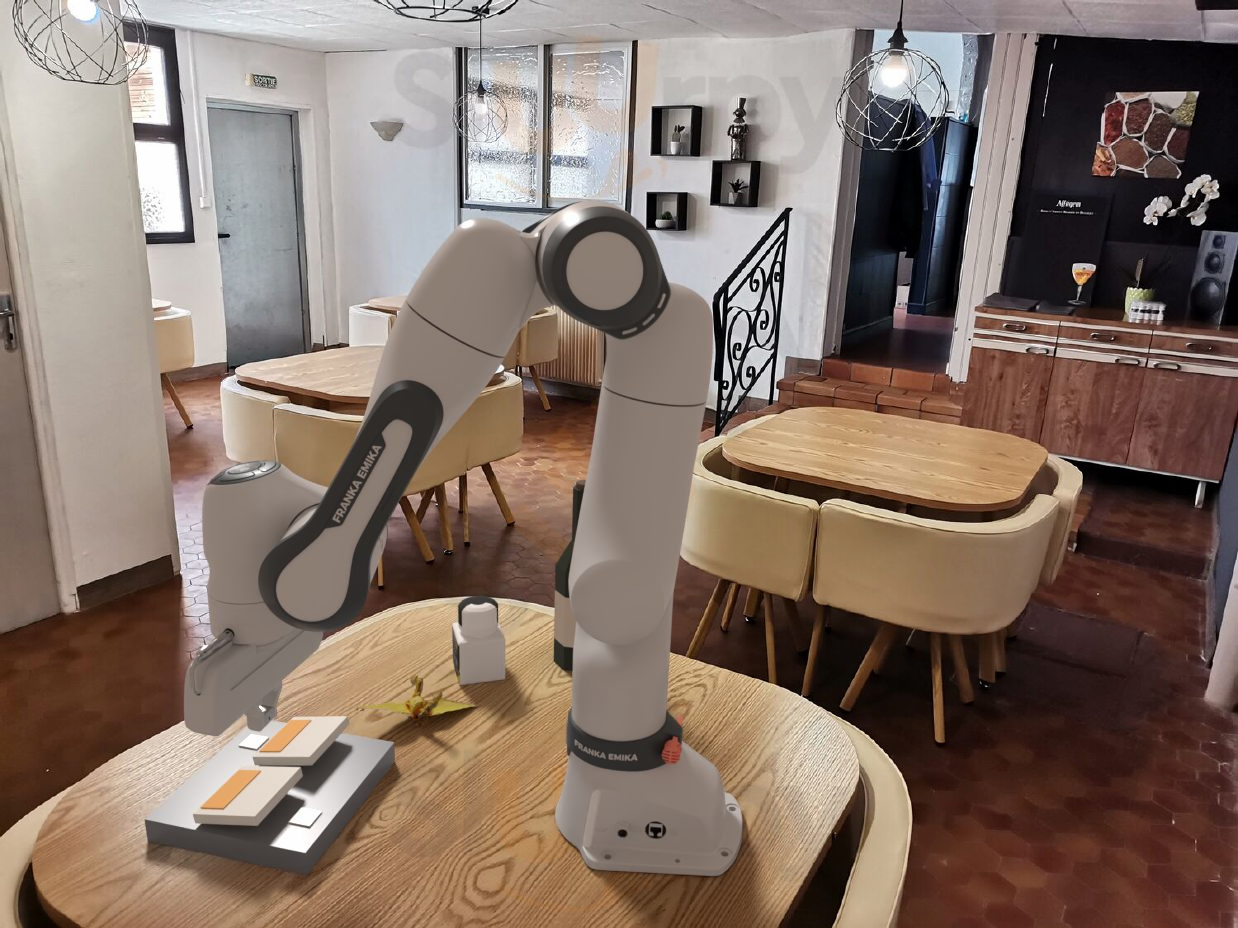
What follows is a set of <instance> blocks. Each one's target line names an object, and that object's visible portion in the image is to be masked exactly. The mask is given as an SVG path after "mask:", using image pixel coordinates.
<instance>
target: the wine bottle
mask: <svg viewBox="0 0 1238 928" xmlns="http://www.w3.org/2000/svg"><path fill="white" fill-rule="evenodd" d="M575 483H576V484H575V485H574V486H573V487H572V513H571V514H572V515H571V516H572V520H571V521H572V523H571V540H570V541H569V543H568V544H567V546H566V547H565V549H564V551H563V552H562V554H561V556H560V557H559V558H558V560H557V561H556V563H555V565H554V567H555V568H554V573H555V574H554V611H553V612H554V617H553V619H554V620H553V621H554V623H553V624H554V625H553V627H554V628H553V662H554V663H555V665H557V666H558V667H559V668H560V669H562V670H563V671H567V672H573V648H574V640H575V630H576V619H575V617H574V615H573V612H572V608H571V603H570V597H569V572H570V566H571V560H572V554H573V548H574V543H575V537H576V532H577V526H578V520H579V515H580V510H581V504H582V499H583V493H584V488H585V483H586V479H578V480H576V482H575Z"/></svg>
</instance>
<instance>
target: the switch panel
mask: <svg viewBox="0 0 1238 928" xmlns="http://www.w3.org/2000/svg"><path fill="white" fill-rule="evenodd" d="M287 723H288V722H282V721H277V720H272V721H271V722H270V723H269V724H268V725H267V726H266V727H265V728H264V729H263V730H262V731H260V732H258V731H253V730H250V729H249V728H248V726H247V725H246V726H245V728H243V729H242V730H241V731H240V732H239V733H238V734H237V735H236V736H235V737H234V738H232V739H231V740H230V741H229V742H228V743H226V744H225V745H224V746H223V747H222V748H221V749H220V750H219V751H218V752H216V754H215V755H214V756H213V757H211V758H210V759H209V760H208V761H206V763H205V764H204V765H202V767H201V768H199V769H198V770H196V771H195V773H194V774H192V775H191V776H190V778H188V779H187V780H186V781H184V783H182V784H181V786H180V787H178V788H177V789H176V790H175V791H174V792H173V793H172V794H171V795H169V796H168V797H167V798H166V799H165V800H163V802H162V803H161V804H159V806H157V807H156V808H155V809H154V810H153V811H152V812H151V813H150V814H149V815H147V816H146V817H145V818H144V826H145V833H146V840H147V841H146V842H148V843H153V844H158V845H163V846H168V847H172V848H176V849H182V850H185V851H190V852H196V853H200V854H205V855H210V856H214V857H217V858H218V857H219V858H223V859H228V860H233V861H238V862H242V863H247V864H251V865H255V866H260V867H264V868H270V869H274V870H279V871H284V872H288V873H293V874H297V875H303V876H308V875H309V874H310V873H311V871H312V870H313V869H314V868H315V866H316V865H317V864H318V862H319V861H320V860H321V859H322V857H323V856H324V855H325V853H326V852H327V851H328V849H329V848H330V847H331V846H332V845H333V843H334V842H335V841H336V839H337V838H338V837H339V835H340V834H341V833H342V831H344V829H345V828H346V827H347V825H348V824H349V822H351V820H352V818H353V817H354V816H355V815H356V813H357V812H358V811H359V810H360V808H361V807H362V805H363V804H364V803H365V802H366V801H367V799H368V798H369V797H370V796H371V794H372V792H373V791H374V790H375V789H376V787H377V786H378V784H379V783H380V782H382V780H383V779H384V777H385V776H386V774H387V773H388V772H389V771H390V769H391V768H392V767H393V765H394V764H395V763H396V755H395V754H396V753H395V742H394V741H390V740H382V739H379V738H378V739H377V738H374V737H366V736H362V735H355V734H350V733H345V732H342V733H341V734H340V735H339V736H338V738H337V739H336V740H335V741H334V742H333V743H332V744H331V745H330V746H329V747H328V748H327V750H326V751H325V752H324V753H323V754H322V755H321V756H320V757H319V758H318V759H317V761H316V762H315V763H314V764H313V765H255V764H254V761H253V756H254V755H255V754H256V753H257V752H258V751H259V750H260V749H261V748H262V747H263V746H264V745H265V744H266V743H267V742H268V741H269V740H270V739H271V738H272V737H273V736H274V735H275V734H276V733H277V732H278V731H279V730H280V729H282V728H283V727H284V726H285V725H286V724H287ZM242 766H269V767H301V771H302V775H303V776H302V778H301V779H300V780H299V781H298V782H297V783H296V784H295V785H294V786H293V787H292V788H291V790H290V791H289V792H288V793H287V794H286V795H285V796H284V797H283V798H282V799H281V801H280V802H279V803H278V804H277V805H276V806H275V807H274V808H273V809H272V810H271V811H270V813H269V814H268V815H267V816H266V817H265V818H264V819H263V820H262V821H261V822H260V824H259V825H258V826H250V825H225V824H201V823H195V821H194V817H193V813H194V812H195V811H196V810H197V809H198V808H199V807H200V806H201V805H202V804H203V803H204V802H205V801H207V800H208V799H209V798H210V797H211V796H212V795H213V794H214V793H215V792H216V791H217V790H218V789H219V788H220V787H221V786H222V785H223V784H224V783H225V782H226V781H227V780H228V779H229V778H230V777H231V776H232V775H233V774H234V773H235V772H237V771H238V770H239V769H240V768H241V767H242Z"/></svg>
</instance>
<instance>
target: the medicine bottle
mask: <svg viewBox="0 0 1238 928" xmlns="http://www.w3.org/2000/svg"><path fill="white" fill-rule="evenodd" d="M457 621H458V622H457ZM457 621H455V622H453V623H452V625H451V629H452V630H451V631H452V632H451V633H452V634H451V635H452V636H451V637H452V641H451V642H452V663H453V667H454V671H455V674H456V675H455V676H456V679H457V683H458V685H459V686H465V685H473V684H481V683H488V682H489V683H490V682H497V681H504V680H505V679H506V637H505V635H504V632H503V629H502V627H501V625H500V622H499V603H498V602H497V600H495V598H492V597H490V596H485V595H471V596H469V597H466V598H464V599H462V600H461V601H460V602H459V603H458V605H457Z"/></svg>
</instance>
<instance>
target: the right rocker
mask: <svg viewBox="0 0 1238 928" xmlns="http://www.w3.org/2000/svg"><path fill="white" fill-rule="evenodd" d="M286 723H287V724H286V725H285V726H284V727H283V728H282V729H280V730H279V731H278V732H277V733H276V734H275V735H274V736H273V737H272V738H271V739H270V740H269V741H268V742H267V743H266V744H265V745H264V746H263V747H262V748H261V749H260V750H259V751H258V752H257V753H256V754H255V755H254V756H253V761H254V764H255V765H313V764H314V763H315V762H316V761H317V759H318V758H319V757H320V756H321V755H322V754H323V753H324V752H325V751H326V750H327V748H328V747H329V746H330V745H331V744H332V743H333V742H334V741H335V740H336V739H337V738H338V736H339V735H340V734H341V733H344V731H345V730H346V729H347V728H348V726H350V721H349V717H348V715H347V716H346V715H345V716H344V715H341V716H340V715H339V716H338V715H337V716H336V715H335V716H330V715H329V716H328V715H327V716H323V715H321V716H293V717H292V718H291V719H289V721H288V722H286Z"/></svg>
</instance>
